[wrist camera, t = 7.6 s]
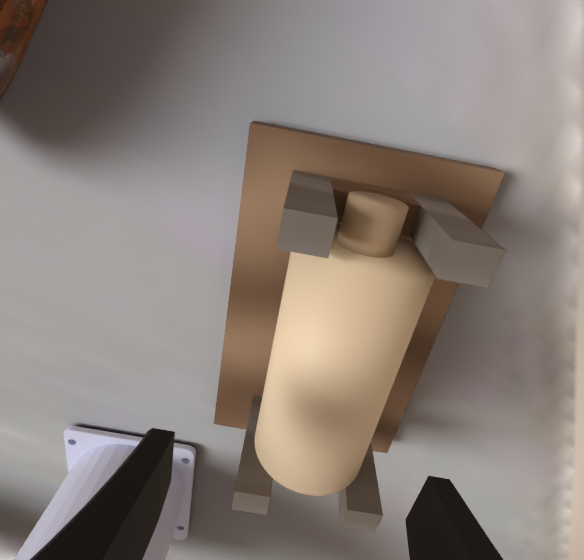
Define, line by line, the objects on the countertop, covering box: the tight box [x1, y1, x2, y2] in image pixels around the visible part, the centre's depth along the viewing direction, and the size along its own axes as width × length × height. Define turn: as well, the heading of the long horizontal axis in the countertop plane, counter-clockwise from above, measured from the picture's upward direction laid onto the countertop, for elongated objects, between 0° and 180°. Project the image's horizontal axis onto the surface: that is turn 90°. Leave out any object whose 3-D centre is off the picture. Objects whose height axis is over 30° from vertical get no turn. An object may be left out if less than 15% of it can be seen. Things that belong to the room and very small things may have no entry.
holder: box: [214, 121, 506, 533], centre depth 16 cm, size 16×10×6 cm, turn 170°
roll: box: [254, 191, 435, 496], centre depth 16 cm, size 13×5×5 cm, turn 170°
